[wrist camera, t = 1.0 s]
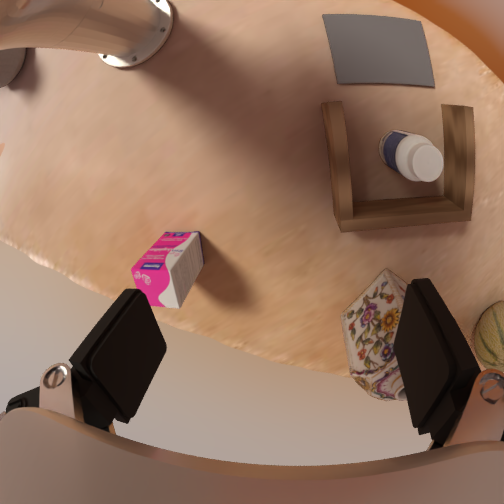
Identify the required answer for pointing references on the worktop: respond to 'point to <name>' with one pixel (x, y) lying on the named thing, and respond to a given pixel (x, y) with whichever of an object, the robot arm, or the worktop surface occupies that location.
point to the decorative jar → (376, 337)
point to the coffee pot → (10, 64)
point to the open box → (405, 209)
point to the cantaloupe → (491, 338)
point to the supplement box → (169, 268)
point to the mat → (378, 49)
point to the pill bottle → (411, 155)
